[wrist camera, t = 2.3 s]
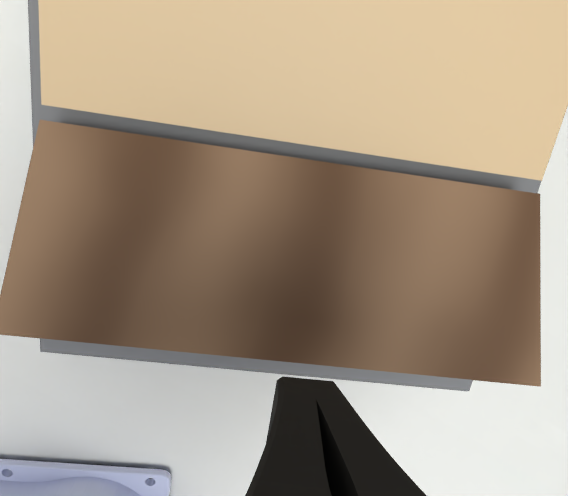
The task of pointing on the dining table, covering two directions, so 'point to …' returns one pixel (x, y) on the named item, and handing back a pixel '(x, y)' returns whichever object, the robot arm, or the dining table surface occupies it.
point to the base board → (313, 96)
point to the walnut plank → (272, 259)
